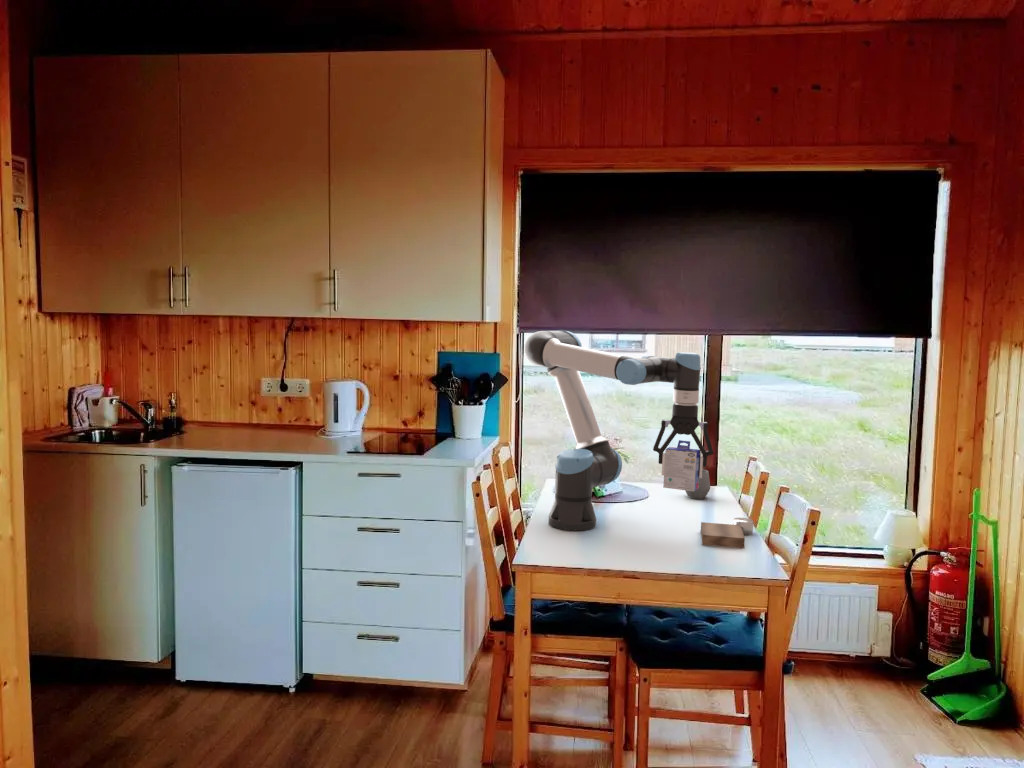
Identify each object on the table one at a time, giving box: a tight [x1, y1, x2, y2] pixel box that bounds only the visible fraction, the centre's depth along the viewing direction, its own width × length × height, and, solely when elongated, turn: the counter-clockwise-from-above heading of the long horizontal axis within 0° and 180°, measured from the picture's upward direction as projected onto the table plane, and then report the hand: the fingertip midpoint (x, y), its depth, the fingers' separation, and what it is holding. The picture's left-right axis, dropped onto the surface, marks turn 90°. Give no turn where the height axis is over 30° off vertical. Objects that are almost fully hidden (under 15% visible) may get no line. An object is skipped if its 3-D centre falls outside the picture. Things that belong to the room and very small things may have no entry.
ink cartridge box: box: [663, 439, 701, 492], centre depth 244 cm, size 10×6×14 cm, turn 65°
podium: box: [700, 521, 746, 549], centre depth 243 cm, size 12×14×3 cm
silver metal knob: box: [732, 517, 754, 536], centre depth 252 cm, size 6×6×4 cm
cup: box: [684, 468, 711, 500], centre depth 295 cm, size 10×9×10 cm
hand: (681, 475), depth 244 cm, fingers closed on ink cartridge box, 10 cm apart
